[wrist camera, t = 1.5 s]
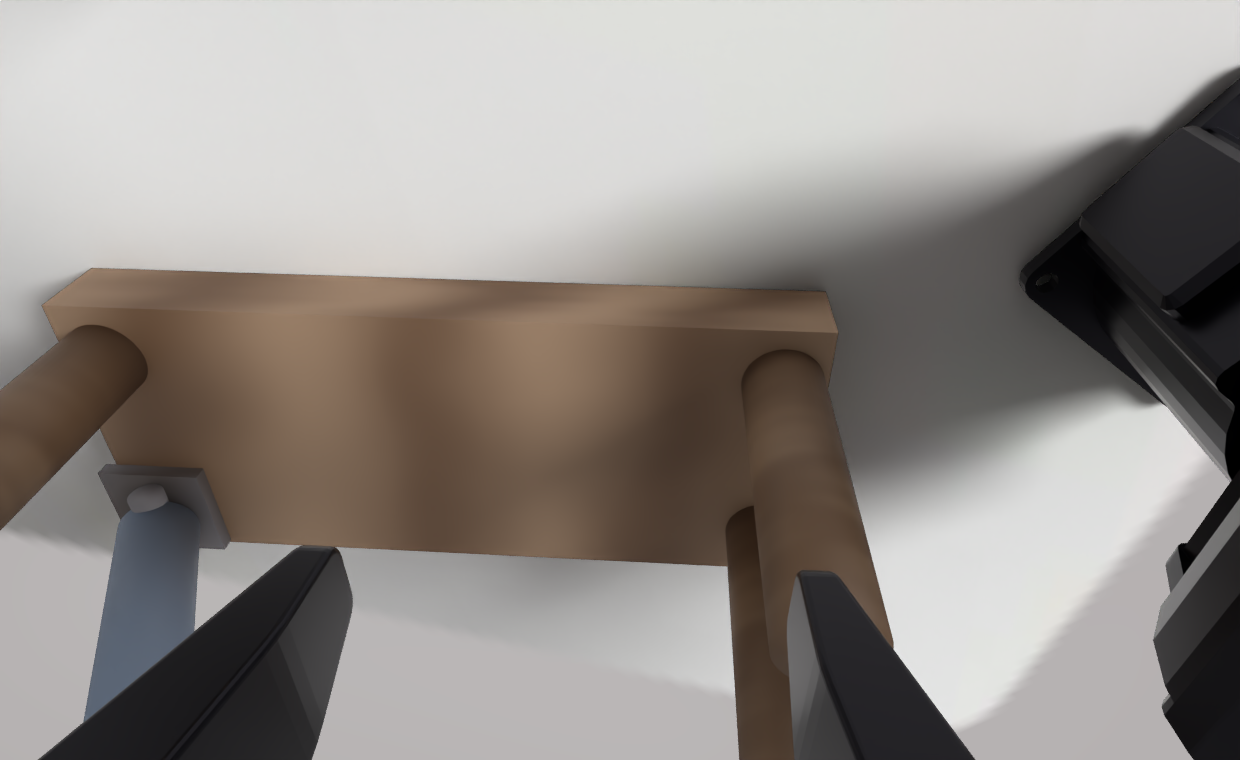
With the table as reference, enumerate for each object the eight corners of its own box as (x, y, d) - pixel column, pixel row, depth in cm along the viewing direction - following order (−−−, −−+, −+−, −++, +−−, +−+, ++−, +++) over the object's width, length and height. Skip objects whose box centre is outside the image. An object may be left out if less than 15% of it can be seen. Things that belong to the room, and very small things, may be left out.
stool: (825, 291, 20) (918, 591, 12) (787, 520, 25) (836, 845, 17) (80, 267, 21) (-279, 530, 13) (176, 491, 26) (-49, 786, 18)
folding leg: (186, 475, 22) (167, 703, 16) (212, 536, 24) (202, 767, 18) (106, 493, 22) (56, 737, 16) (136, 555, 23) (101, 799, 17)
